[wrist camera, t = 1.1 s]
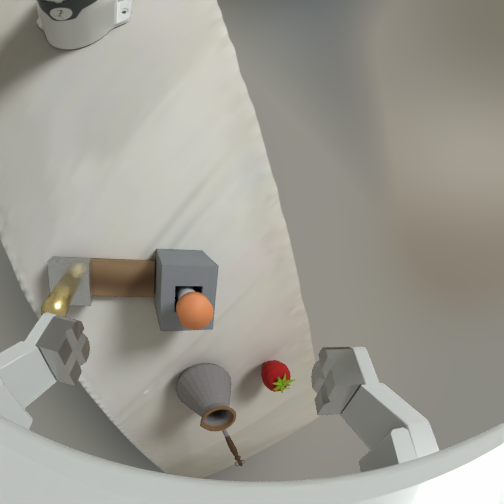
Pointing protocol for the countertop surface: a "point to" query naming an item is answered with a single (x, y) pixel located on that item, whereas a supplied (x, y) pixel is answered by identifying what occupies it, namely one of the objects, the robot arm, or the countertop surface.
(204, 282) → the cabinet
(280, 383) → the strawberry
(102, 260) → the rail
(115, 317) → the countertop surface
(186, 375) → the coffee pot
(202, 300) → the button
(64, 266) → the carriage
